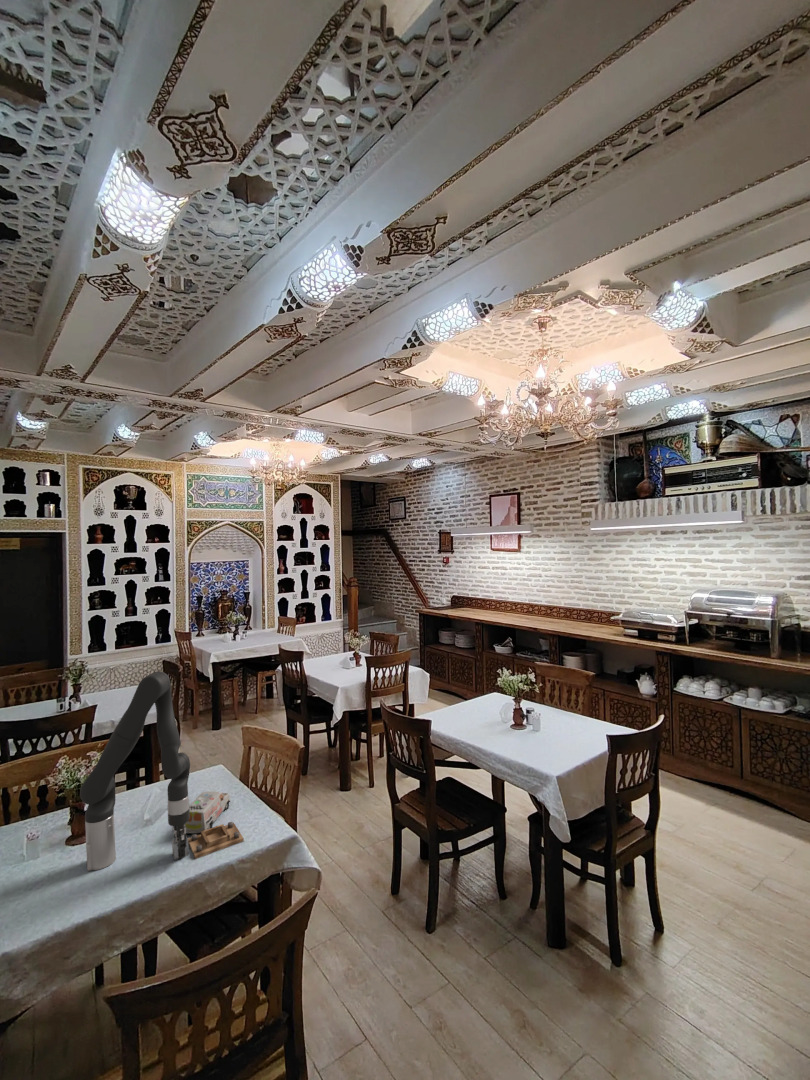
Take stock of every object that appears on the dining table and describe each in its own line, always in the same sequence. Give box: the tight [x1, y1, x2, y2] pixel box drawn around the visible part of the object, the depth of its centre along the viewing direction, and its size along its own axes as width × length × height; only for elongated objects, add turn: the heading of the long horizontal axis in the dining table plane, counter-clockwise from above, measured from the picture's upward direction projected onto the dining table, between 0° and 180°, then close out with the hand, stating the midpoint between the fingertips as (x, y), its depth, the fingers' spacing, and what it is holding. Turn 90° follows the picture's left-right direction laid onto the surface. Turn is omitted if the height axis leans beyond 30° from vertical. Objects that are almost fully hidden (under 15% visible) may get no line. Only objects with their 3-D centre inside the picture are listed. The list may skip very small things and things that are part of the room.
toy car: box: [185, 790, 231, 834], centre depth 217 cm, size 11×25×10 cm, turn 175°
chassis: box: [187, 821, 245, 860], centre depth 201 cm, size 18×14×3 cm
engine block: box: [171, 836, 190, 861], centre depth 193 cm, size 5×4×7 cm
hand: (180, 853), depth 193 cm, fingers closed on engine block, 4 cm apart
